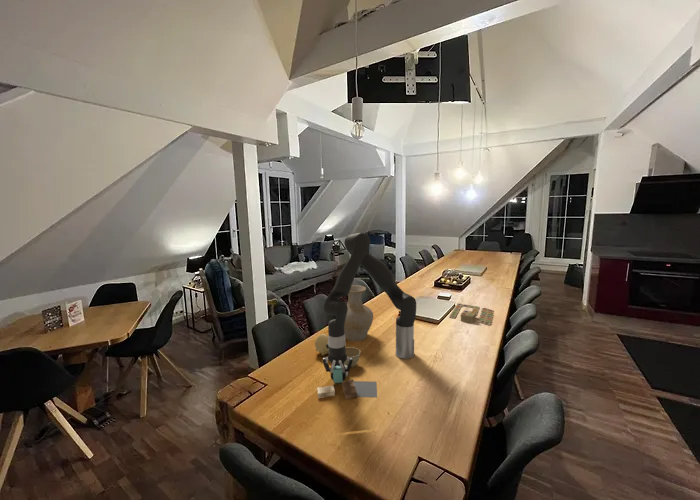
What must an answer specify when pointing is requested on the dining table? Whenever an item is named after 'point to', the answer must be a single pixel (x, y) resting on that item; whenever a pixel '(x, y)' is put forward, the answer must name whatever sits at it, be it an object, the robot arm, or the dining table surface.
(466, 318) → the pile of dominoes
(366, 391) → the felt mat
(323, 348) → the toy pig
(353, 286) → the vase
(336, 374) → the teal block
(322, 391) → the beech slab
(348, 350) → the flower pot
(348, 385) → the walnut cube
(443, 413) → the dining table surface
